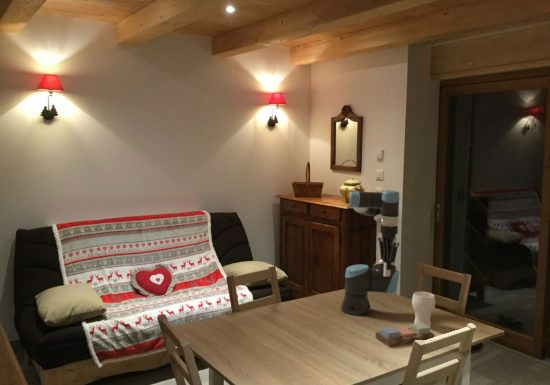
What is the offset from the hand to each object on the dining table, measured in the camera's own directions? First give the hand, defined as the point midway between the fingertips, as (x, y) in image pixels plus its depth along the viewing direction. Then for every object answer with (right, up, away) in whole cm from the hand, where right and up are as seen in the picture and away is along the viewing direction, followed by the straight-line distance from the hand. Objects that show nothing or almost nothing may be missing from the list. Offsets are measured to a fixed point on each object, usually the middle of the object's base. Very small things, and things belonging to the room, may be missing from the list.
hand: (386, 275), depth 221 cm
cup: (+19, -26, +11) cm, 34 cm away
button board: (+7, -27, -6) cm, 28 cm away
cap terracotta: (+7, -26, -6) cm, 28 cm away
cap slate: (-1, -25, -9) cm, 27 cm away
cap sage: (+14, -25, -3) cm, 29 cm away
